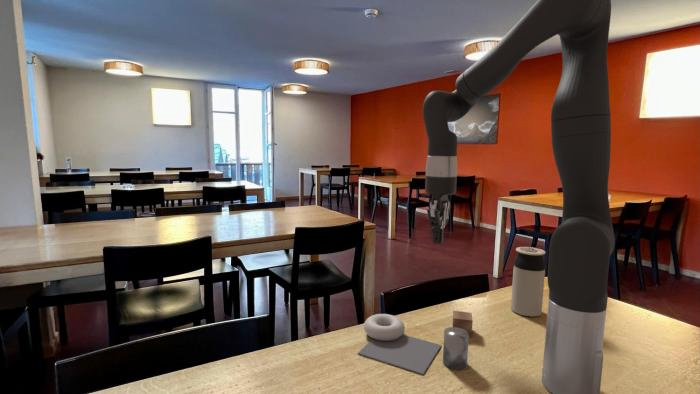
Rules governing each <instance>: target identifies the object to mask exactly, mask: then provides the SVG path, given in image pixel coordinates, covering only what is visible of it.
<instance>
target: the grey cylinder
mask: <svg viewBox="0 0 700 394" xmlns="http://www.w3.org/2000/svg"><path fill="white" fill-rule="evenodd" d="M443 333H444V334H443V352H442V353H443V354H442V364H443V366H444V367H446V368H447V369H449V370H452V371H458V372H459V371H465V370H466V369H467V368H468V358H469V357H468V356H469V355H468V354H469V339H470V337H469V333H468V332H467V331H466V330H464V329H461V328H457V327H452V326H450V327H446V328H445V329H444V332H443Z"/></svg>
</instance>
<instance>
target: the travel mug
mask: <svg viewBox="0 0 700 394" xmlns="http://www.w3.org/2000/svg"><path fill="white" fill-rule="evenodd" d="M515 251H516V256H515V258H514V259H513V271H512V272H513V273H512V283H511V284H512V286H511V299H510V300H511V301H510V309H511V310H512V311H513V312H514V313H515V314H517V315H519V316H524V317H528V316H529V317H531V318H533V317H535V318H536V317H539V316H541V315H542V313H543V302H544V301H543V300H544V299H543V298H544V290H545V289H544V288H545V275H546V262H545V259H544V257H545V254H546V251H545V250H544V249H540V248H539V247H538V248H536V247H532V246H519V247H516V248H515Z"/></svg>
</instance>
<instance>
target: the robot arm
mask: <svg viewBox="0 0 700 394" xmlns="http://www.w3.org/2000/svg"><path fill="white" fill-rule="evenodd" d="M611 16H612V0H536V2H535V3H534V4H533V5H532V6H531V7H530V8H529V10H528V11H527V12H526V13H525V14H524V15H523V16H522V17H521V18H520V19H519V21H517V22H516V24H515V25H514V26H513V27H511V28H510V29H509V31H508V32H507V33H506V34H505V35H504V36H503V37H502V38H501V39H500V40H499V41H498V42H497V43H496V44H495V45H494V46H493V47H491V49H490V50H489V51H487V52H486V53H485V54H484V55H483V56H482V57H480V58H479V59H478V60H476V62H474V63H473V64H471V65H470V66H469V67H468V68H467V69H466V70H464V71H463V72H462V73H461V74H460V75H459V76H457V78H456V80H455V86H454V87H455V90H454V91H451V92H449V91H444V90H432V91H431V92H429V93H428V94H427V95H426V97H425V99H424V100H423V104H422V116H423V121H424V122H423V123H424V127H425V132H426V136H427V158H426V164H425V180H424V183H425V185H424V187H425V188H424V191H425V194H429V195H431V201H429V208H427V211H426V213H427V218H428V221H429V222H428V223H429V226H430V228H432V229H433V233H432V234H433V236H432V242H433V244H438V245H441V244H443V243H444V236H445V235H444V233H445V232H444V231H445V230H444V229H445V227H446V225H447V224H448V220H449V215H450V212H451V207H452V204H451V203H450V201H449V196H451V195H455V194H456V193H457V182H458V181H457V177H458V157H457V156H458V135H457V134H456V133H455V132H453V131H451V130H450V128H449V123H453V122H456V121H458V120H460V119H462V118H463V117H464V116H465V115H467V114H468V113H469V111H471V109H472V108H473V107H474V106H475V105H476V104H477V103H478V101H479V100H480V99H482V98H483V97H485V96H487V95H488V94H489V93H490V92H492V91H493V90H494V89H496V88H497V87H499V86H500V85H501V84H502V83H504V82H505V80H506V79H508V78H509V76H511V74H512V73H513V71H514V70H515V69H516V68H517V66H518V65H519V63H520V62H521V61H522V60H523V59H524V58H525V57H526V56H527V55H528V54H529V53H531V51H532V50H534V49H535V48H537V47H538V46H540V45H541V44H543V43H544V42H546V41H548V40H549V39H551V38H554V37H555V36H557V35H558V36H559V39H560V45H561V46H560V47H561V56H562V57H561V58H562V70H561V75H560V76H561V77H560V81H559V84H558V87H557V90H556V92H555V95H554V99H553V101H552V107H551V113H550V128H551V130H550V131H551V133H550V134H551V147H552V154H553V158H554V162H555V165H556V169H557V173H558V176H559V179H560V183H561V189H562V215H561V224H560V225H558V226H557V227H556V228H555V230H553V233H552V234H551V237H550V241H549V246H548V247H549V249H548V261H547V263H548V265H547V286H548V287H547V288H548V290H549V291H548V303H547V316H546V327H545V336H544V340H545V341H544V348H543V349H544V350H543V351H544V352H543V360H542V371H541V383H542V385H543V387H545V389H547V390H548V392H551V394H601V385H602V377H603V376H602V375H603V364H604V350H603V346H604V335H605V325H606V316H607V308H608V307H607V306H608V299H609V298H608V297H609V296H608V280H609V279H608V278H609V268H610V258H611V255H612V253H613V251H614V249H615V245H616V239H615V232H614V226H613V223H612V221H613V220H612V216H611V208H610V200H609V179H610V178H609V177H610V176H609V175H610V166H611V152H612V150H611V149H612V148H611V147H612V146H611V143H612V121H611V120H612V119H611V106H610V105H611V103H610V84H609V83H610V82H609V80H610V79H609V72H608V71H609V70H608V69H609V68H608V45H609V36H610V25H611Z"/></svg>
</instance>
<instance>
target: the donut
mask: <svg viewBox="0 0 700 394" xmlns="http://www.w3.org/2000/svg"><path fill="white" fill-rule="evenodd" d="M363 329H364V332H365V333H366V335H368V337H370V338H372V339H373V338H374V339H376V340H381V341H391V340H395V339H398V338H399V337H401V336H402V335H404V333H405V329H406V328H405V324H404V322H403V321H402V320H401V319H400V318H399V317H398V316H395V315H393V314H388V313H376V314H373V315H371V316H369V317H367V318H366V319H365V321H364V323H363Z"/></svg>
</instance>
